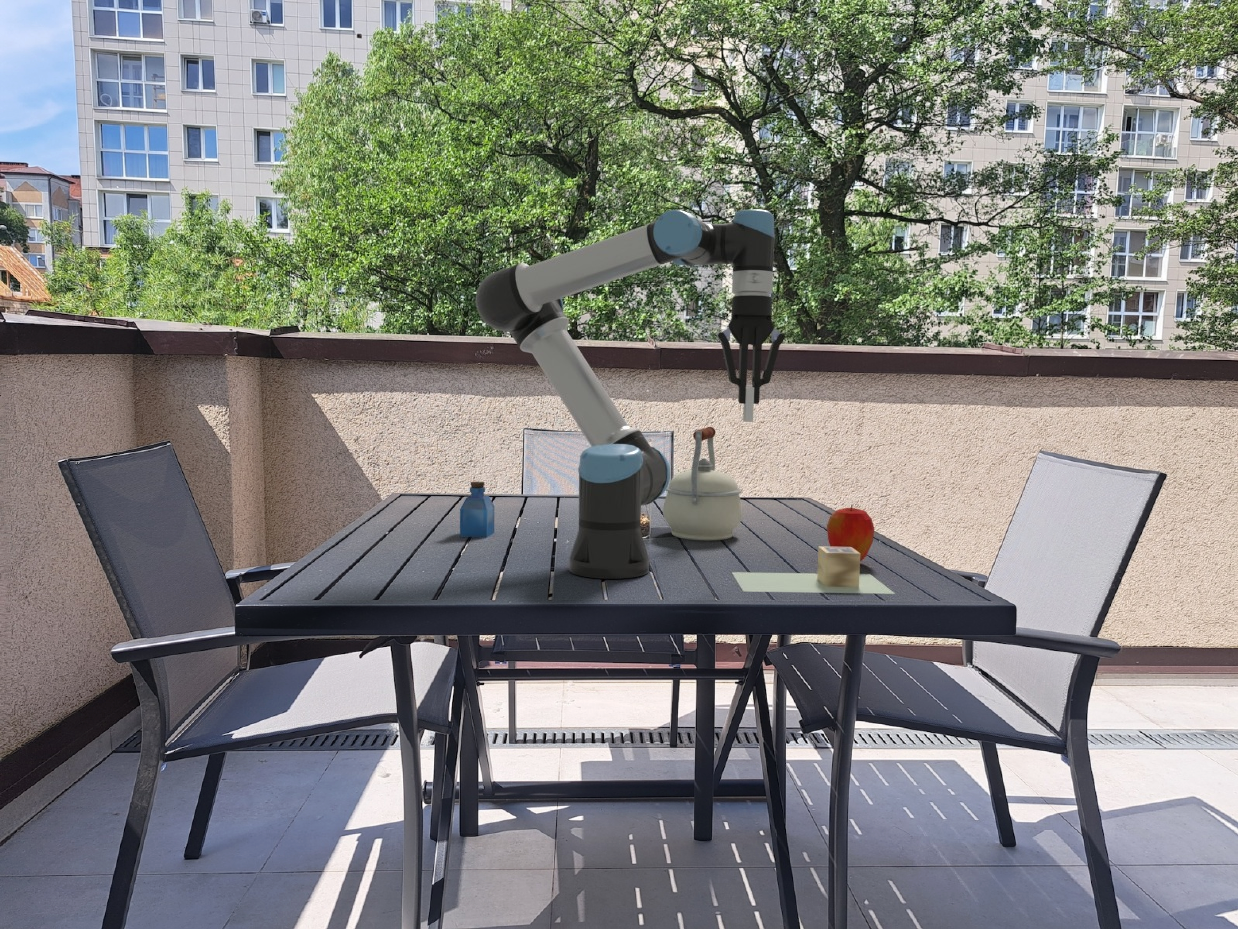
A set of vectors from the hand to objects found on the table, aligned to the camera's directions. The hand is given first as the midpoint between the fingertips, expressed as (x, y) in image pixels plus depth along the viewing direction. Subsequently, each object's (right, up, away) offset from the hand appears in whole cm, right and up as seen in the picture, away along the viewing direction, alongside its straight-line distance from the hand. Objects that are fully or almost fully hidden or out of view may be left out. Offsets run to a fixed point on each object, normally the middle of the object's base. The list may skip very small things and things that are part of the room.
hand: (748, 421), depth 173 cm
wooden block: (+15, -23, -11) cm, 30 cm away
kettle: (-5, -25, +40) cm, 47 cm away
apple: (+21, -28, +9) cm, 37 cm away
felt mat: (+10, -30, -10) cm, 33 cm away
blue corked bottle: (-57, -24, +34) cm, 71 cm away
